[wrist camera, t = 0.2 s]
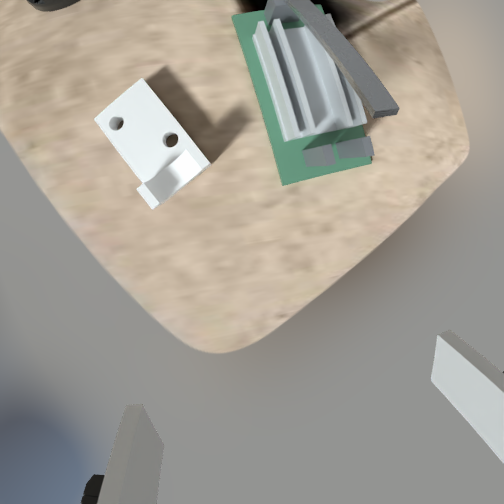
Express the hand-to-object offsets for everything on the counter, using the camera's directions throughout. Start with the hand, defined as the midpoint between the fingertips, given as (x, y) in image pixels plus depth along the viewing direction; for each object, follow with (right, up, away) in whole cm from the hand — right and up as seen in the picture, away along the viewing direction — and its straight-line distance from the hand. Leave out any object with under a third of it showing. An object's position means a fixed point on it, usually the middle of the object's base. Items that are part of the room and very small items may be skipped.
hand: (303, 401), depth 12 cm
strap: (+5, +25, +11) cm, 28 cm away
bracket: (-14, +19, +23) cm, 33 cm away
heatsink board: (+4, +26, +22) cm, 35 cm away
